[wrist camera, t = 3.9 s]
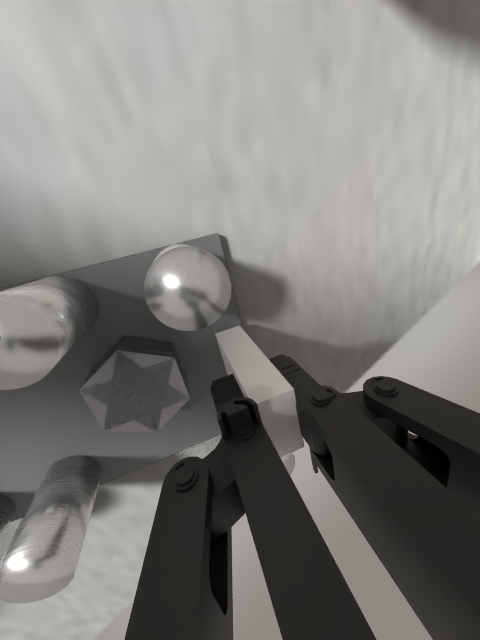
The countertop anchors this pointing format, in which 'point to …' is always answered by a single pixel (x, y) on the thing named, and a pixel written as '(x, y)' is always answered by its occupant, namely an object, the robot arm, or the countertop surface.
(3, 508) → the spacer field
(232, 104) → the countertop surface
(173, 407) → the nut
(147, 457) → the mat
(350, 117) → the countertop surface
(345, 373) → the countertop surface
